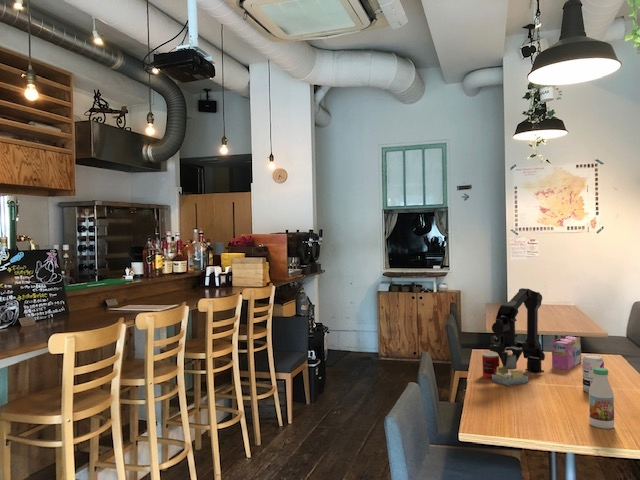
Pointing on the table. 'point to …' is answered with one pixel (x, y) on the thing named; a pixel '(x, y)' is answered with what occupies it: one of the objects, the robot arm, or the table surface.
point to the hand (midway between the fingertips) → (509, 365)
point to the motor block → (509, 376)
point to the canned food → (490, 364)
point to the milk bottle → (601, 400)
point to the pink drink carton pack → (566, 352)
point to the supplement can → (590, 369)
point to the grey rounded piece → (510, 362)
